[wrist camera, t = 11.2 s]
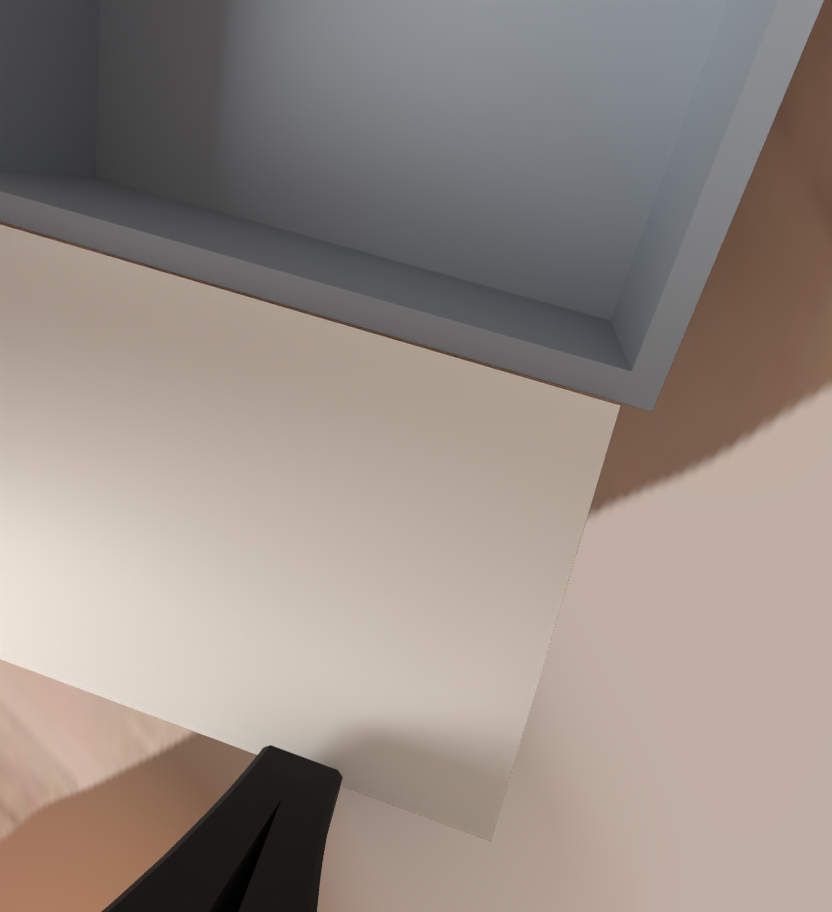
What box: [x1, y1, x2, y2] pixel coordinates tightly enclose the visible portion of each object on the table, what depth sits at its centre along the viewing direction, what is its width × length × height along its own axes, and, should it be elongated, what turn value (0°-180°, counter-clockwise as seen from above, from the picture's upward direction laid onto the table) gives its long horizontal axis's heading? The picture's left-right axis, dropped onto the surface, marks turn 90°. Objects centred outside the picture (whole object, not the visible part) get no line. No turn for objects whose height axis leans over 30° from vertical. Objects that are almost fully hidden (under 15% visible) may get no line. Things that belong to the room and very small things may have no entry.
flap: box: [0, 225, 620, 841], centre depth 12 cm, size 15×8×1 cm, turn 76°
